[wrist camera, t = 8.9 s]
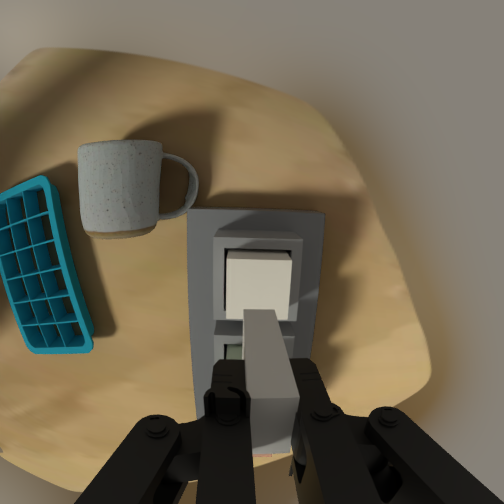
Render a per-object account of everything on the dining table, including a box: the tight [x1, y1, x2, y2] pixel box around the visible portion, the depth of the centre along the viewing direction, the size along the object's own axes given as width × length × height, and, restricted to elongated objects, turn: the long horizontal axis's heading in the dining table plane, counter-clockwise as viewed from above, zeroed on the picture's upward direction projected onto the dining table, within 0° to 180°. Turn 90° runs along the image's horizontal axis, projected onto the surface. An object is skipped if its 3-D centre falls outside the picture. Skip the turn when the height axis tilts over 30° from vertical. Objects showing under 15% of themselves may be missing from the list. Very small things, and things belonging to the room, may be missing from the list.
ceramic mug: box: [78, 140, 199, 239], centre depth 24 cm, size 11×8×8 cm
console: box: [187, 207, 325, 419], centre depth 28 cm, size 12×26×7 cm, turn 178°
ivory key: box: [226, 248, 292, 320], centre depth 23 cm, size 4×4×4 cm
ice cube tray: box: [0, 175, 94, 354], centre depth 28 cm, size 12×20×3 cm, turn 10°
